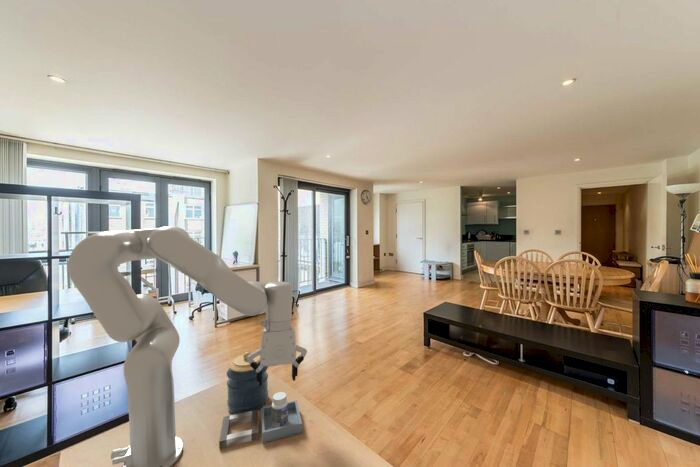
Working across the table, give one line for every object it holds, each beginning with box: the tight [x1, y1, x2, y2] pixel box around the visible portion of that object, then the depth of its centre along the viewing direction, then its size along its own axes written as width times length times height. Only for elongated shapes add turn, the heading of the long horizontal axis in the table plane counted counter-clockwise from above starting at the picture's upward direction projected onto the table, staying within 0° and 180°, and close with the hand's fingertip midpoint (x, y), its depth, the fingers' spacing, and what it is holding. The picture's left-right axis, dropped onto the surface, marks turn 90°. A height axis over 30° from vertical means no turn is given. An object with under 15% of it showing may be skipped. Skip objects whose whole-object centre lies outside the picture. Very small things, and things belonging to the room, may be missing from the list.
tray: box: [260, 399, 303, 444], centre depth 83 cm, size 11×11×3 cm
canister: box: [226, 351, 269, 415], centre depth 92 cm, size 13×13×18 cm
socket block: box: [218, 410, 259, 449], centre depth 80 cm, size 10×10×2 cm
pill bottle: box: [271, 391, 289, 428], centre depth 82 cm, size 5×5×8 cm
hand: (277, 380), depth 82 cm, fingers open, 9 cm apart
